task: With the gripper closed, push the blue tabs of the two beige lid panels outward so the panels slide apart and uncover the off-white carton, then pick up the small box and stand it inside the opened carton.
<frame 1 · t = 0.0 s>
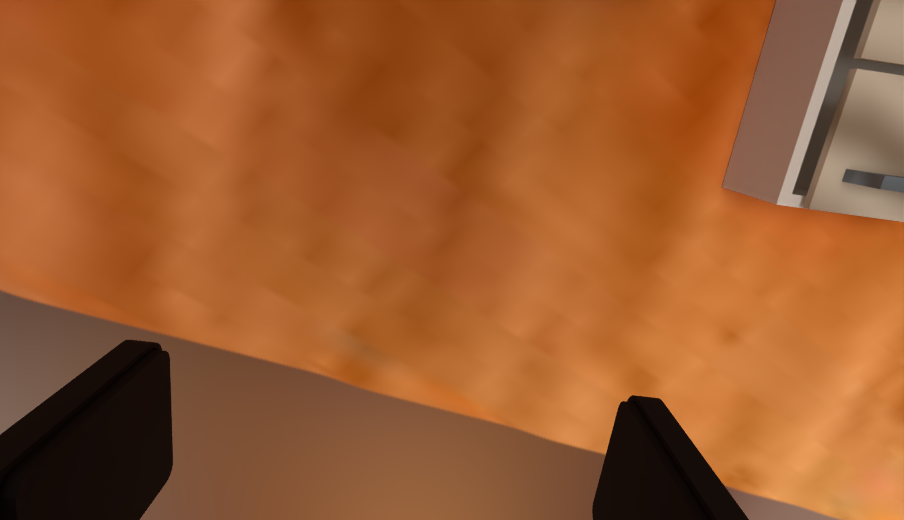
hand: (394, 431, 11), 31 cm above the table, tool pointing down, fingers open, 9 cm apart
carton: (845, 81, 39), on the table
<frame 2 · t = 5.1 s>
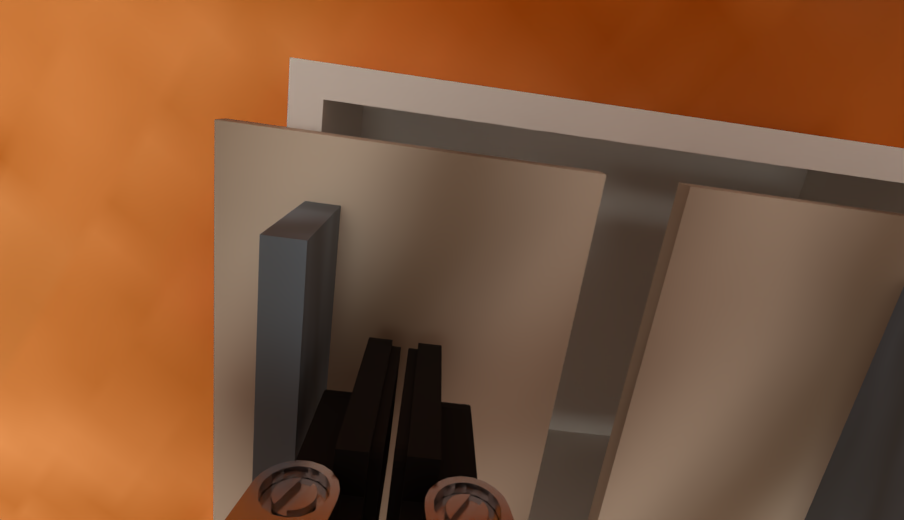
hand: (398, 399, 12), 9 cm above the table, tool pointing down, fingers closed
lid panel 1: (383, 396, 12), point 9 cm above the table, slide at 1.4 cm, touching gripper
carton: (555, 287, 21), on the table
lid panel 2: (823, 446, 12), point 9 cm above the table, slide at 0.0 cm
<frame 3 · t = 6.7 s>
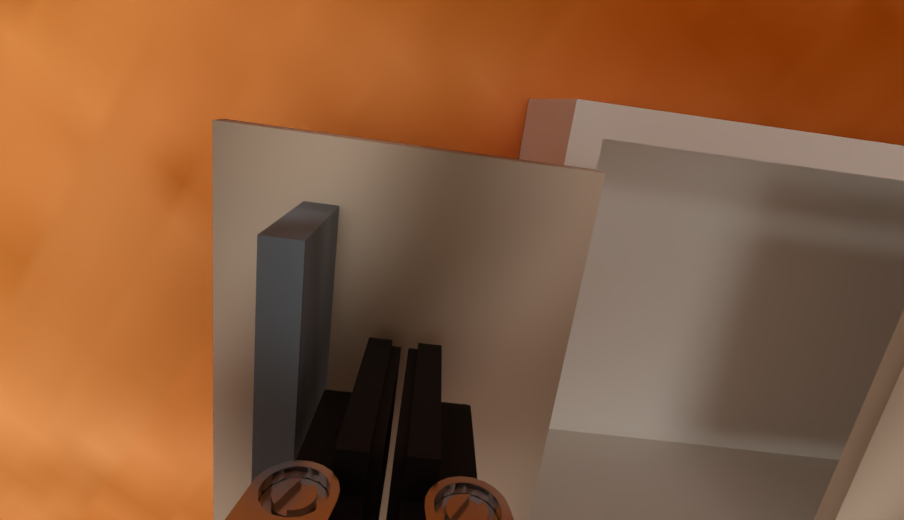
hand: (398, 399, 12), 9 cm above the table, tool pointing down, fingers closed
lid panel 1: (383, 396, 12), point 9 cm above the table, slide at 8.0 cm, touching gripper
carton: (713, 306, 21), on the table
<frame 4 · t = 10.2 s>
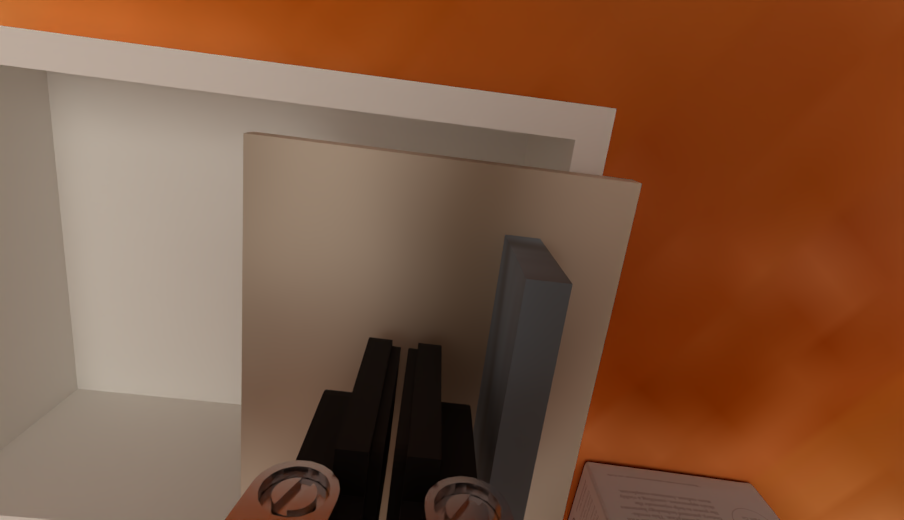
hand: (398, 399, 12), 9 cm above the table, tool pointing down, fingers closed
carton: (292, 261, 20), on the table
lid panel 2: (417, 412, 11), point 9 cm above the table, slide at 0.7 cm, touching gripper
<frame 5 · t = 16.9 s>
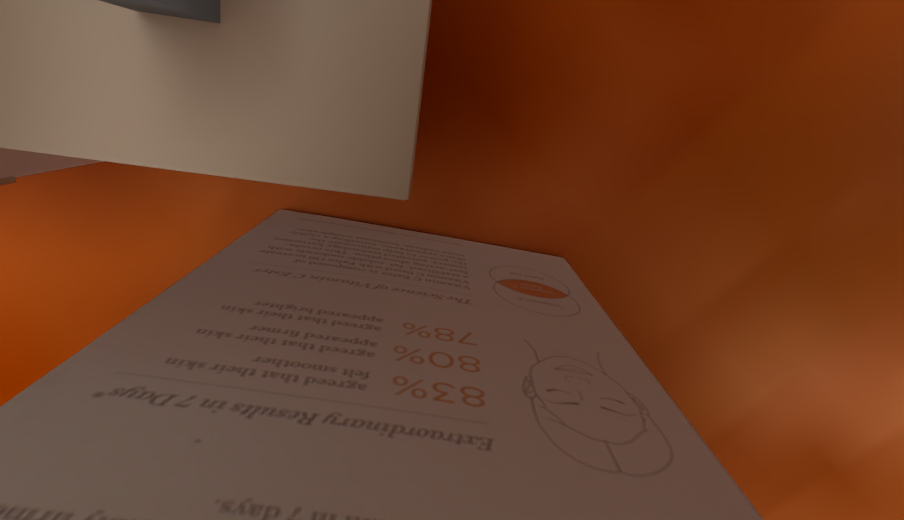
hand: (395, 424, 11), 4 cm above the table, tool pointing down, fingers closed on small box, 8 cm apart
small box: (408, 332, 15), on the table, touching gripper
when the fingers open (6 cm above the table, at t = 23.2 s): small box drops 1 cm, resting on carton.
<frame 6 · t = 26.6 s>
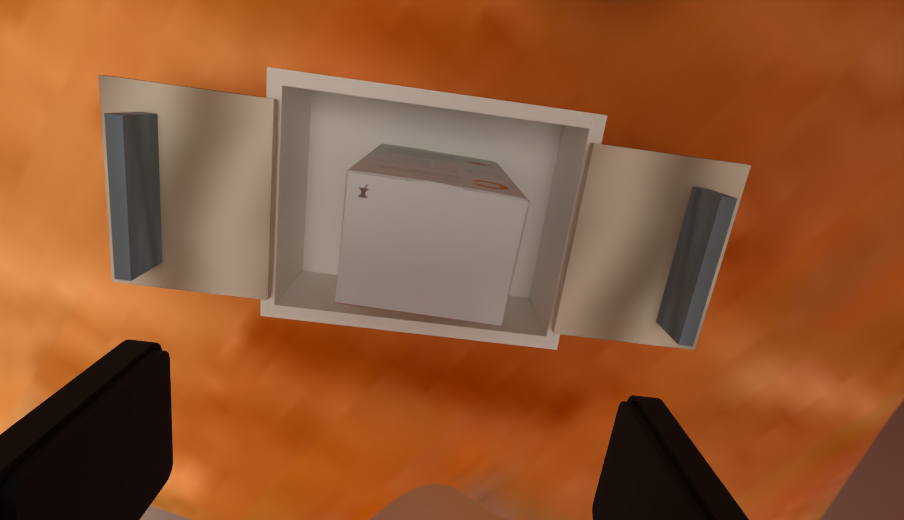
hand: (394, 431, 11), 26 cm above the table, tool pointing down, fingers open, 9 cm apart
lid panel 1: (177, 199, 26), point 9 cm above the table, slide at 8.0 cm
small box: (432, 197, 35), resting on carton
carton: (428, 198, 36), on the table
lid panel 2: (656, 259, 28), point 9 cm above the table, slide at 8.0 cm
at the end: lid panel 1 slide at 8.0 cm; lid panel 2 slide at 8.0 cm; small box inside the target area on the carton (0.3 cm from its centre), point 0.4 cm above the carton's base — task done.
